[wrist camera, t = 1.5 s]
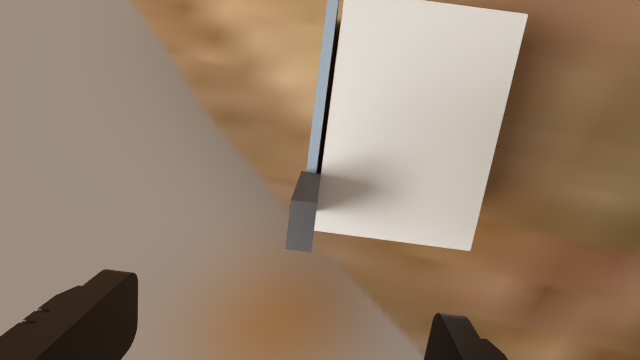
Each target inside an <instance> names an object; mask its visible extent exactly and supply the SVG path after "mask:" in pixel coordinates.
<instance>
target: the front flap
mask: <svg viewBox="0 0 640 360" xmlns="http://www.w3.org/2000/svg"><path fill="white" fill-rule="evenodd" d="M338 3H339V0H327V7H326V15H325V23H324V31H323V40H322V48H321V56H320V64H319V72H318V81H317V89H316V97H315V105H314V113H313V122H312V130H311V138H310V146H309V154H308V163H307V171H306V172H303V171H301V174H300V177H299V179H298V182H297V185H296V188H295V190H294V193H293V196H292V199H291V205H290V213H289V222H288V231H287V240H286V249H290V250H298V251H305V252H311V248H312V241H313V234H314V226H315V218H316V211H317V203H318V195H319V187H320V178H321V174H318V173H317V172H318V164H319V157H320V149H321V141H322V134H323V126H324V118H325V110H326V103H327V95H328V87H329V80H330V72H331V64H332V56H333V49H334V41H335V33H336V25H337V15H338Z"/></svg>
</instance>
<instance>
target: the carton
mask: <svg viewBox="0 0 640 360" xmlns="http://www.w3.org/2000/svg"><path fill="white" fill-rule="evenodd" d="M527 17H528V14H523V13H515V12H508V11H500V10H493V9H485V8H478V7H470V6H463V5H455V4H447V3H440V2H432V1H425V0H344V3H343V10H342V17H341V24H340V31H339V39H338V46H337V54H336V62H335V69H334V77H333V84H332V92H331V100H330V107H329V115H328V122H327V130H326V138H325V145H324V153H323V160H322V168H321V178H320V187H319V195H318V203H317V211H316V218H315V226H314V231H322V232H330V233H337V234H345V235H352V236H360V237H368V238H375V239H383V240H391V241H398V242H406V243H414V244H421V245H429V246H436V247H444V248H452V249H459V250H467V251H470V249H471V245H472V241H473V237H474V233H475V229H476V225H477V221H478V217H479V213H480V209H481V205H482V200H483V196H484V192H485V188H486V184H487V180H488V176H489V172H490V168H491V164H492V160H493V156H494V152H495V147H496V143H497V139H498V135H499V131H500V127H501V123H502V119H503V115H504V111H505V107H506V103H507V99H508V95H509V90H510V86H511V82H512V78H513V74H514V70H515V66H516V62H517V58H518V54H519V50H520V46H521V42H522V38H523V33H524V29H525V25H526V21H527Z"/></svg>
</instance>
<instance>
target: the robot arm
mask: <svg viewBox="0 0 640 360" xmlns="http://www.w3.org/2000/svg"><path fill="white" fill-rule="evenodd" d="M137 321H138V278H137V275H136V274H135V273H130V272H122V271H115V270H107V269H105V270H102V271H101V272H100V273H98V274H97V275H96V276H95V277H93V278H92V279H91V280H89V281H88V282H87V283H86V284H84V285H83V286H76V287H74V288H72V289H69V290H67V291H65V292H62V293H60V294H58V295H56V296H54V297H53V298H52V299H50V300H49V301H48V302H46V303H45V304H43V305H42V306H41V307H39V308H38V311H34V312H33V313H31V314H30V315H29V316H27V317H26V318H25V319H23V322H22V323H18V324H16V325H15V326H14V327H13V328H11V329H10V330H8V331H7V332H6V333H4V334H3V335H2V336H0V360H121V359H122V357H123V356H124V355H125V354H126V352H127V351H128V350H129V348H130V347H131V345H132V343H133V340H134V338H135V334H136V331H137ZM424 360H508V359H507V358H506V356H505V355H504V354H503V353H502V352H501V351H500V350H499V349H498V348H496V347H495V346H494V345H493V344H492V343H491V342H490V341H488V340H487V339H481V338H480V337H479V336H478V334H477V332H476V331H475V329H474V327H473V326H472V324H471V322H470V321H469V319H468V318H467V317H465V316H457V315H449V314H442V313H437V314H436V315H435V316H434V318H433V322H432V326H431V330H430V335H429V339H428V344H427V348H426V352H425V357H424Z"/></svg>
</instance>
